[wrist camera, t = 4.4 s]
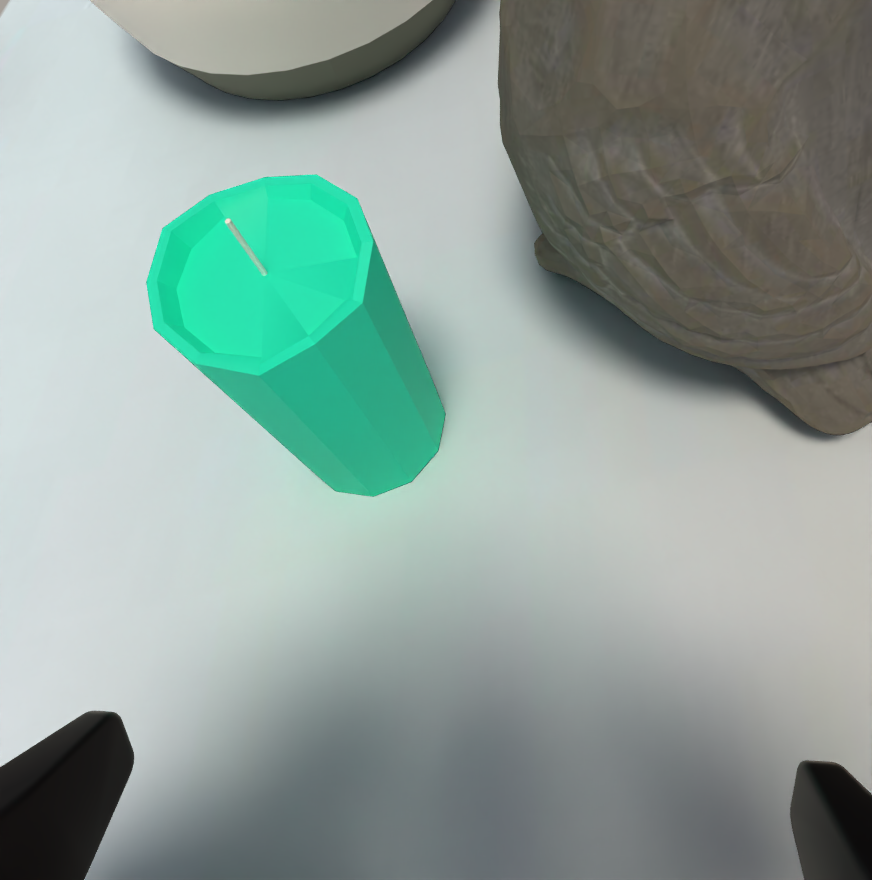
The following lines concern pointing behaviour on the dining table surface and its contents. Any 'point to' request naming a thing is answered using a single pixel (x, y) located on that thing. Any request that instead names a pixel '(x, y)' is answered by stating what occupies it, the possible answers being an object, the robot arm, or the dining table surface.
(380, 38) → the bowl
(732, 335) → the figurine
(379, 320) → the candle
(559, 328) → the dining table surface
